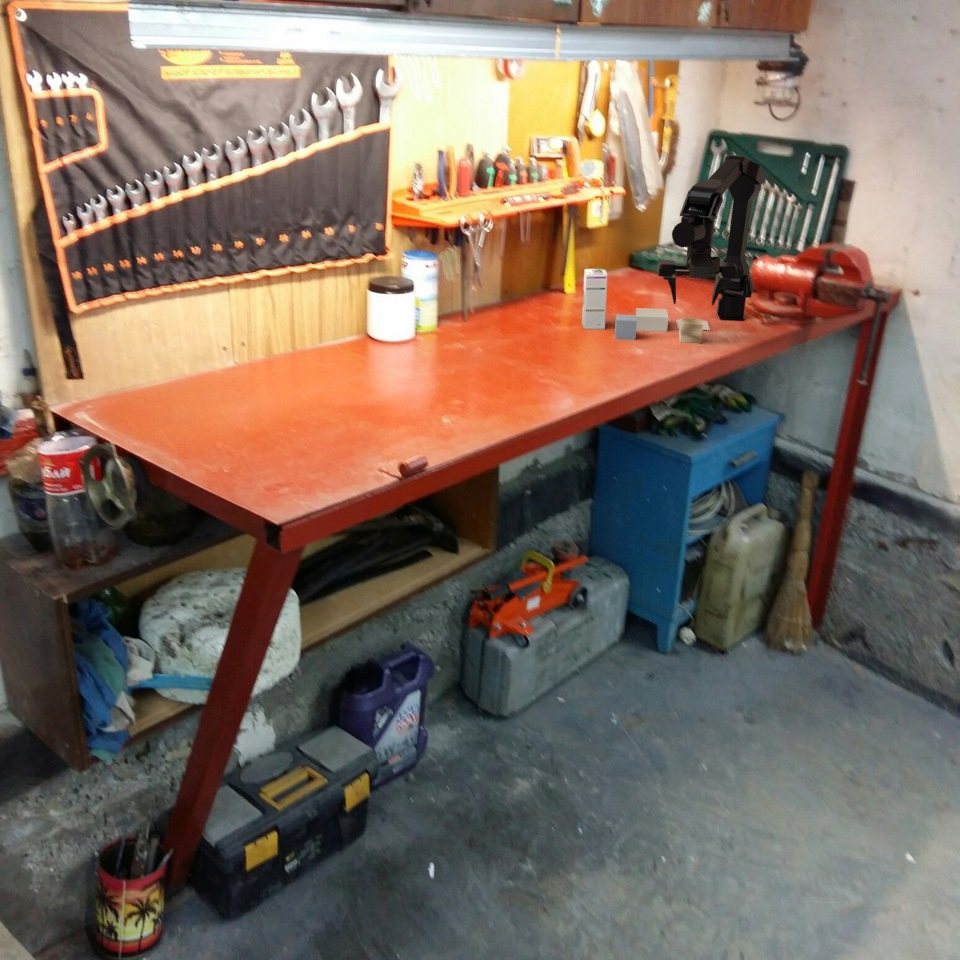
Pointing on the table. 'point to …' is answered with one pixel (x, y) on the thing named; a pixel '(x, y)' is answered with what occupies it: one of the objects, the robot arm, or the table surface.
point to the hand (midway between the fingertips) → (693, 304)
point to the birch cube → (690, 330)
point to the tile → (705, 324)
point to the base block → (652, 319)
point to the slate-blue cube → (625, 327)
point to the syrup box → (594, 298)
